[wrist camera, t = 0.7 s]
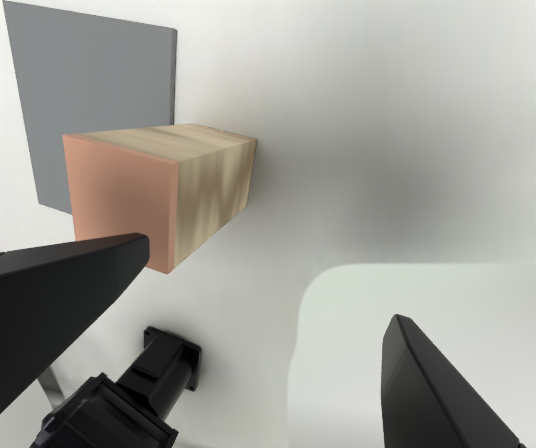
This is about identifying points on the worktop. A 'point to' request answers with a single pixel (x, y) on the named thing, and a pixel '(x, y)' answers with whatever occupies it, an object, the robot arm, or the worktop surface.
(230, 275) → the worktop surface
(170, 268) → the pine block
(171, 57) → the mat
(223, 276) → the worktop surface
